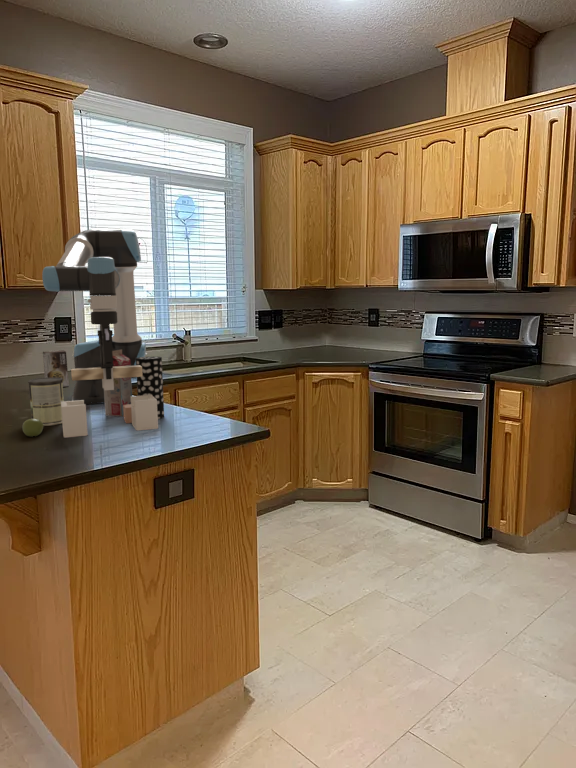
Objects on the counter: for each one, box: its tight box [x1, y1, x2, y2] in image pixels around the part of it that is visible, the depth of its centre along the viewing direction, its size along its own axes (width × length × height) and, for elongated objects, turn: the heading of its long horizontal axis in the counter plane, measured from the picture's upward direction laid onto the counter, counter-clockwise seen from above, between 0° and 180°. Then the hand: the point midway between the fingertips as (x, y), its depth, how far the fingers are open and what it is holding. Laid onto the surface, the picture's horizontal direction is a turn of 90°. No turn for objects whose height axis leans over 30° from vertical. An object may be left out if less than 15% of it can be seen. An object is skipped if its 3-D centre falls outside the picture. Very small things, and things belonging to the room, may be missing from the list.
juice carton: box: [104, 350, 133, 417], centre depth 200 cm, size 7×7×22 cm
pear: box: [21, 418, 44, 438], centre depth 173 cm, size 6×5×10 cm
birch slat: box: [70, 365, 143, 382], centre depth 175 cm, size 20×4×3 cm, turn 113°
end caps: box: [61, 395, 159, 438], centre depth 177 cm, size 27×10×9 cm, turn 113°
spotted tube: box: [136, 355, 165, 420], centre depth 194 cm, size 8×8×20 cm
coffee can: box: [27, 377, 65, 427], centre depth 188 cm, size 10×10×14 cm
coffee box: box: [42, 349, 70, 388], centre depth 263 cm, size 9×6×16 cm
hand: (108, 388), depth 176 cm, fingers closed on birch slat, 4 cm apart
